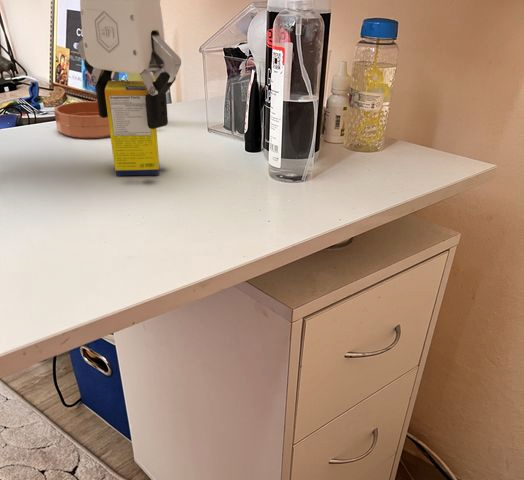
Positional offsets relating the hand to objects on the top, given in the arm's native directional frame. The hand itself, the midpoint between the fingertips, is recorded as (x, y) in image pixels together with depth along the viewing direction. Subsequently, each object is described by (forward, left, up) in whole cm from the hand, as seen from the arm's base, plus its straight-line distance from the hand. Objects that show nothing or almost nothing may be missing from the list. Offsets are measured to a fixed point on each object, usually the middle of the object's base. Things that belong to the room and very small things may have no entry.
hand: (133, 120), depth 71 cm
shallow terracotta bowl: (-14, +18, -7) cm, 24 cm away
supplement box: (0, 0, -7) cm, 7 cm away
